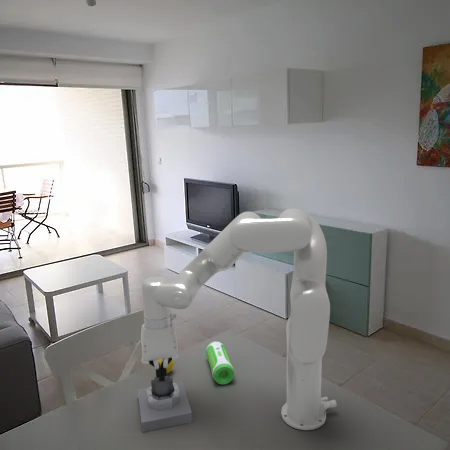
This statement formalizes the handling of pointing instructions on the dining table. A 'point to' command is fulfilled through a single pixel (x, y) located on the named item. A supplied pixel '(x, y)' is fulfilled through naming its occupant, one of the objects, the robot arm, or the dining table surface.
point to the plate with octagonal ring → (164, 412)
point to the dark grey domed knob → (162, 386)
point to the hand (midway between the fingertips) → (161, 378)
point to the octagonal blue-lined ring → (163, 399)
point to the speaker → (219, 363)
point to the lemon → (170, 365)
